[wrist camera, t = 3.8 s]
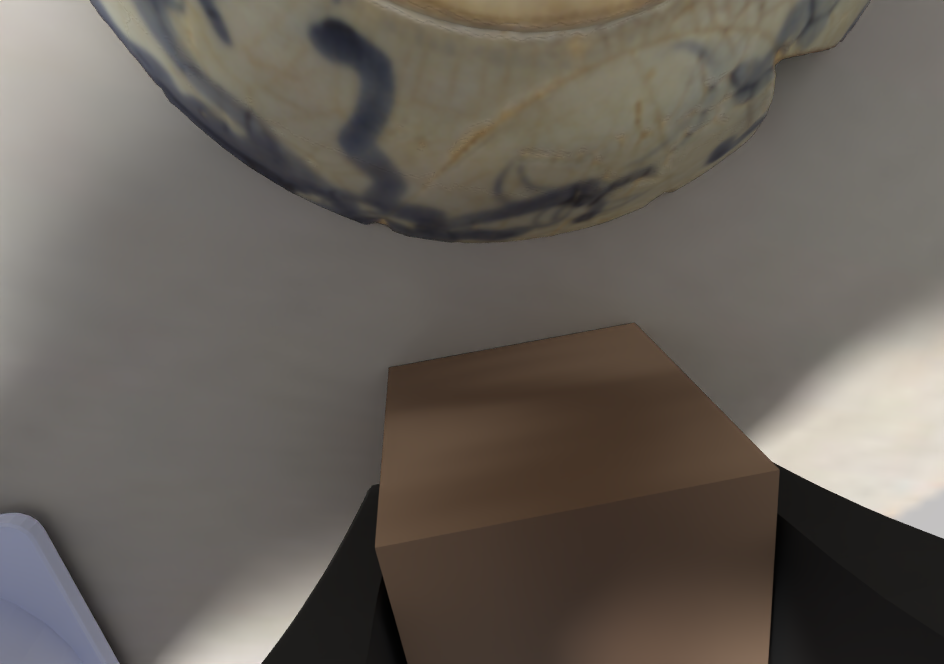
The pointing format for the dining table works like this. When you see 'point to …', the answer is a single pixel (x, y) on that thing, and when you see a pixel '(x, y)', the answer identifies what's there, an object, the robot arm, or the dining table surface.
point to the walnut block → (572, 510)
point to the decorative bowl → (476, 98)
